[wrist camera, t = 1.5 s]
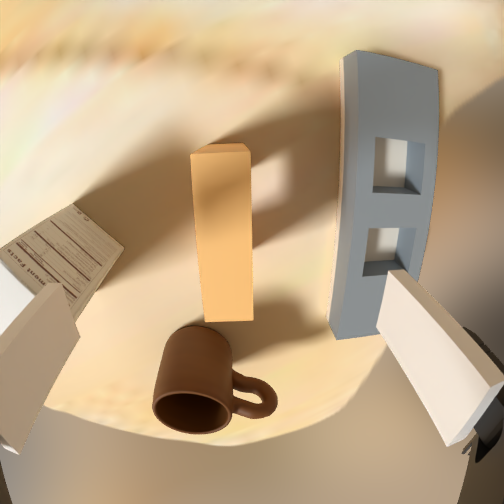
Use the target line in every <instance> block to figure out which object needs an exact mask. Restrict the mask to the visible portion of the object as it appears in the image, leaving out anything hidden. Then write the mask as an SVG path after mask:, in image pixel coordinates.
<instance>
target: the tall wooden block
mask: <svg viewBox="0 0 504 504" xmlns="http://www.w3.org/2000/svg"><path fill="white" fill-rule="evenodd" d="M190 160H191V178H192V193H193V207H194V220H195V232H196V243H197V254H198V264H199V274H200V283H201V292H202V301H203V309H204V318H205V322H225V321H249V320H253V263H252V207H251V152H250V150H249V149H248V148H247V147H246V146H245V144H244V143H228V144H208V145H206V146H204V147H202V148H200V149H199V150H197V151H195V152H193V153H192V154H190Z"/></svg>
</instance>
